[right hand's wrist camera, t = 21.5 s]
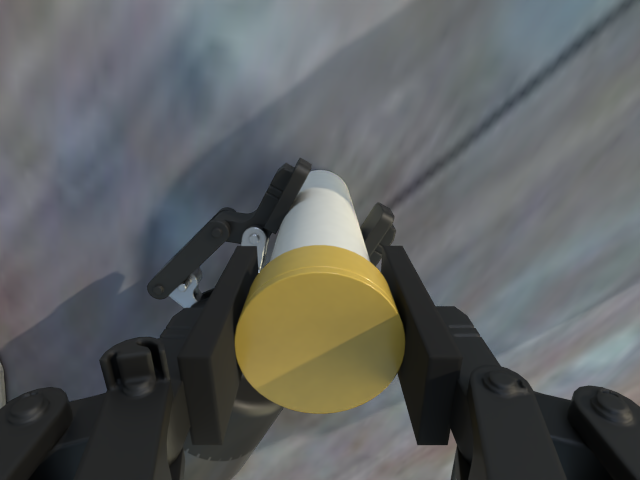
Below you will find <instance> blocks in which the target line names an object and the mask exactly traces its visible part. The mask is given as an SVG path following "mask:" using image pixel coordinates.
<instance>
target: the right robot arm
mask: <svg viewBox="0 0 640 480" xmlns="http://www.w3.org/2000/svg"><path fill="white" fill-rule="evenodd" d="M258 273H259V269H258V254H257V246H237V248H236V250H235V252H234V253H233V255H232V257H231V259H230V261H229V263H228V264H227V266H226V268H225V270H224V272H223V273H222V275H221V277H220V279H219V281H218V283H217V284H216V286H215V288H214V290H213V292H212V294H211V295H210V297H209V299H208V301H207V303H206V304H205V306H204V308H184V309H183V310H182V311H180V312H179V313H177V314H176V315H175V316H173V318H172V319H171V321H170V322H169V324H168V325H167V327H166V329H165V330H164V331H163V333H162V334H161V336H160V338H159V339H156V338H152V337H138V338H134V339H129V340H126V341H124V342H121V343H119V344H117V345H115V346H113V347H112V348H110V349H109V350H108V351H106V352H105V353H104V355H103V356H102V357H101V358H100V360H99V361H100V365H101V368H102V372H103V376H104V379H105V383H106V387H107V392H106V393H103V394H100V395H97V396H93V397H88V398H84V399H80V400H75V401H71V402H69V401H68V398H67V395H66V393H65V392H64V391H63V390H62V389H59V388H53V387H48V388H41V389H36V390H33V391H30V392H27V393H24V394H22V395H20V396H19V397H17V398H15V399H13V400H11V401H9V402H8V403H7V404H6V405H4V406H3V407H2V408H1V409H0V480H184V470H185V454H184V449H183V445H184V442H185V439H186V437H187V434H188V432H189V430H190V436H191V441H192V445H222V444H223V441H224V437H225V433H226V430H227V426H228V423H229V419H230V415H231V412H232V408H233V405H234V401H235V398H236V394H237V390H238V387H239V383H240V380H241V376H242V371H241V369H240V367H239V365H238V362H237V359H236V353H235V344H234V335H235V330H236V325H237V323H238V320H239V317H240V314H241V312H242V309H243V306H244V303H245V301H246V298H247V295H248V292H249V290H250V287H251V285H252V283H253V281H254V279H255V278H256V276H257V275H258ZM381 274H382V275H383V276H384V278H385V280H386V281H387V283H388V285H389V288H390V290H391V293H392V296H393V298H394V301H395V304H396V307H397V309H398V312H399V315H400V318H401V320H402V323H403V327H404V331H405V351H404V358H403V362H402V364H401V366H400V369H399V371H398V377H399V380H400V384H401V388H402V391H403V395H404V398H405V402H406V405H407V409H408V413H409V416H410V420H411V423H412V427H413V431H414V434H415V438H416V441H417V445H448V440H449V434H450V429H451V431H452V433H453V436H454V438H455V441H456V443H457V449H456V454H455V459H454V465H453V470H452V475H451V480H640V407H639V406H638V405H637V404H635V403H634V402H633V401H632V400H630V399H628V398H627V397H625V396H623V395H621V394H619V393H617V392H615V391H612V390H609V389H606V388H603V387H596V386H584V387H579V388H578V389H577V390H576V391H574V394H573V397H572V400H567V399H563V398H558V397H554V396H550V395H545V394H542V393H538V392H535V391H533V389H532V388H531V386H530V385H529V383H528V382H527V381H526V380H525V379H524V378H523V377H521V376H520V375H519V374H517V373H516V372H514V371H512V370H510V369H508V368H504V367H501V366H500V364H499V363H498V361H497V360H496V358H495V357H494V355H493V354H492V352H491V351H490V349H489V348H488V346H487V345H486V343H485V342H484V340H483V339H482V337H480V334H479V333H478V331H477V330H476V328H474V325H473V324H472V322H471V321H470V319H469V318H468V316H467V315H466V314H464V313H463V312H461V311H460V310H459V309H457V308H456V307H454V306H435V305H434V303H433V301H432V299H431V298H430V296H429V294H428V292H427V290H426V288H425V287H424V285H423V283H422V281H421V279H420V278H419V276H418V274H417V272H416V270H415V268H414V267H413V265H412V263H411V261H410V259H409V257H408V256H407V254H406V252H405V250H404V248H403V246H383V251H382V266H381Z"/></svg>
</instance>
